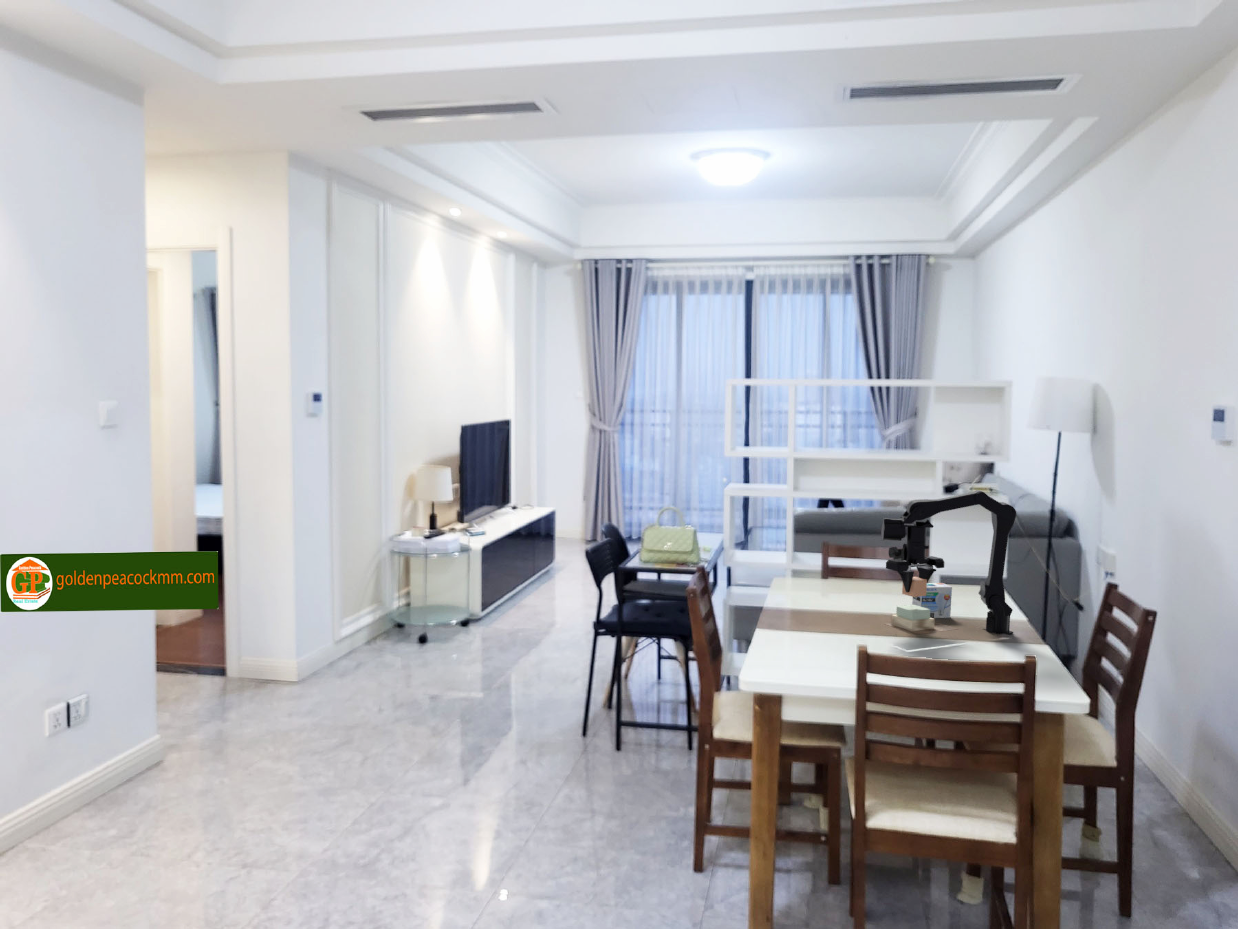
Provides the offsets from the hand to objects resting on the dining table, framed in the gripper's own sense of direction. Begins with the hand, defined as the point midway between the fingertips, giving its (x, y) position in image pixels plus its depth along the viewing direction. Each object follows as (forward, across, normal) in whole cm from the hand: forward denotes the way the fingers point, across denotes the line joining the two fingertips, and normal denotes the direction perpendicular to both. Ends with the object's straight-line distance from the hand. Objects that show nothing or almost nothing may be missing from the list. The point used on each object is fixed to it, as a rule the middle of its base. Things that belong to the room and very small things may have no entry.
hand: (914, 591), depth 297 cm
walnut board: (+12, -2, +1) cm, 12 cm away
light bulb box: (+12, -16, -9) cm, 22 cm away
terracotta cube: (+1, 0, 0) cm, 1 cm away
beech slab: (+11, 0, 0) cm, 11 cm away
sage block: (+8, 0, 0) cm, 8 cm away
